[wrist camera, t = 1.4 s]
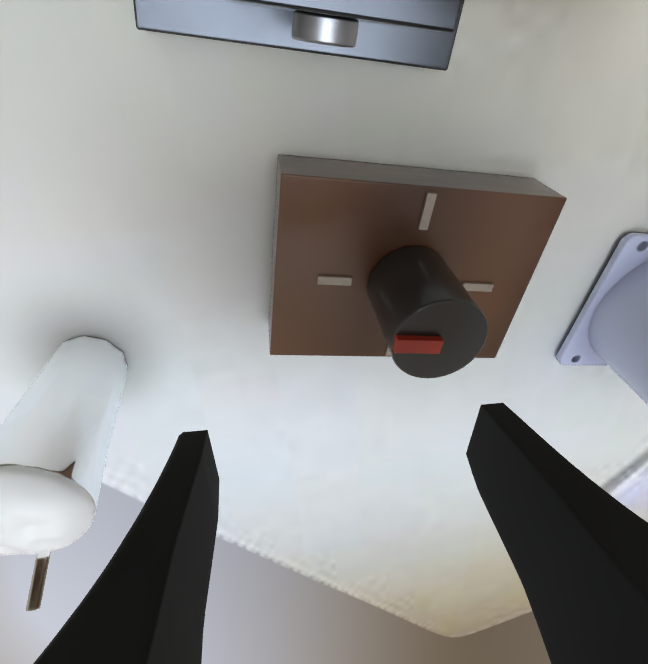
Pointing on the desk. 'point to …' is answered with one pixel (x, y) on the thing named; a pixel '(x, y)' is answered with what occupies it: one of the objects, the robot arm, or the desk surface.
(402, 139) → the desk surface
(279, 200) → the console
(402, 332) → the dial
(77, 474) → the milkshake
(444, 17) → the bracket
